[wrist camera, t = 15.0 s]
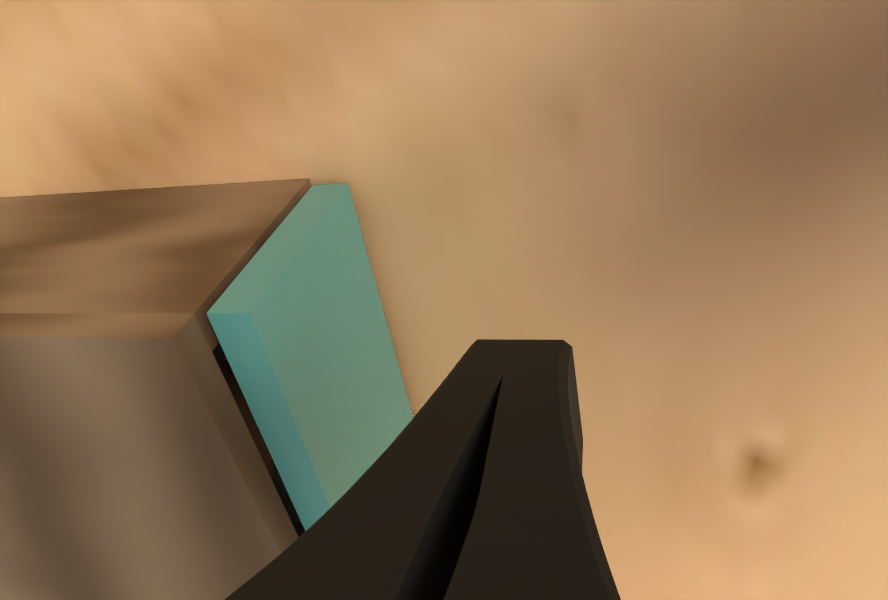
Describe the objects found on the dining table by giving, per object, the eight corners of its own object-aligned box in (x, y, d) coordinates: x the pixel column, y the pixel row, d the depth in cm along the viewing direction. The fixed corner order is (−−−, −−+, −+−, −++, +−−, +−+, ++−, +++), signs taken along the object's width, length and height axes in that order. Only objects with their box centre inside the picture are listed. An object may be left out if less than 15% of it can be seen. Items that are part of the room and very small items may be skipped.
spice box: (308, 178, 19) (173, 338, 13) (423, 547, 28) (368, 729, 22) (-78, 202, 23) (-298, 331, 18) (130, 516, 32) (25, 665, 27)
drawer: (349, 181, 18) (250, 313, 14) (453, 556, 27) (413, 710, 23) (-51, 205, 22) (-228, 313, 18) (154, 525, 31) (70, 650, 27)
